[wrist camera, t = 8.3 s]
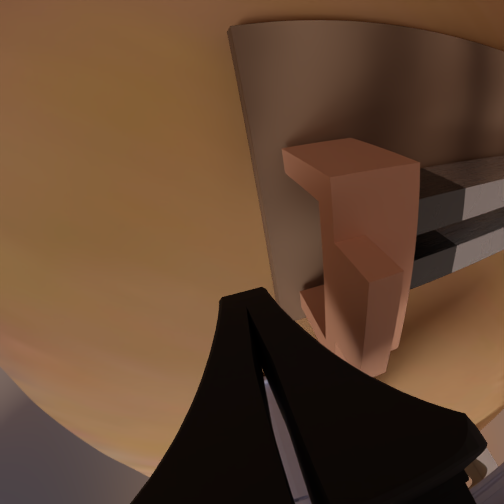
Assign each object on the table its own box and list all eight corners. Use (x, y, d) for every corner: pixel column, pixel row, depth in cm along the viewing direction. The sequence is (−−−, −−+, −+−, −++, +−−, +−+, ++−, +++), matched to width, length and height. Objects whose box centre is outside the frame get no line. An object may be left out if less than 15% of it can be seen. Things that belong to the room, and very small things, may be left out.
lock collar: (350, 137, 11) (468, 183, 6) (355, 290, 15) (421, 380, 10) (281, 148, 11) (371, 204, 6) (301, 307, 15) (353, 410, 10)
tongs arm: (528, 152, 14) (559, 165, 11) (526, 172, 14) (557, 187, 12) (372, 177, 12) (414, 200, 10) (373, 208, 13) (412, 236, 11)
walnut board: (541, 69, 12) (550, 71, 11) (532, 221, 19) (539, 226, 18) (227, 31, 10) (230, 26, 9) (278, 312, 17) (282, 324, 16)
